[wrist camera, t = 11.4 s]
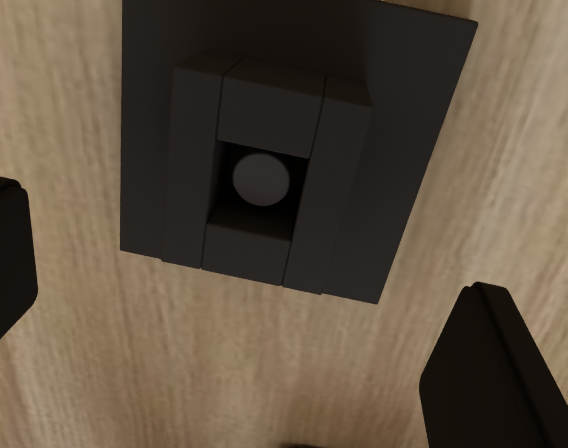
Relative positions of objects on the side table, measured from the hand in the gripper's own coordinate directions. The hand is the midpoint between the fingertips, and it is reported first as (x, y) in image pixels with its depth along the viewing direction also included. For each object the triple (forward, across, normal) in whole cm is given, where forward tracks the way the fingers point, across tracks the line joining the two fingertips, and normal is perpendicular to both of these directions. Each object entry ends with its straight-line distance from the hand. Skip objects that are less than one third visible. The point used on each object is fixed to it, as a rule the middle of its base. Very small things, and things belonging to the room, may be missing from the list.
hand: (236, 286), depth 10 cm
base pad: (+10, 0, 0) cm, 10 cm away
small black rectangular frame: (+9, +1, 0) cm, 9 cm away
